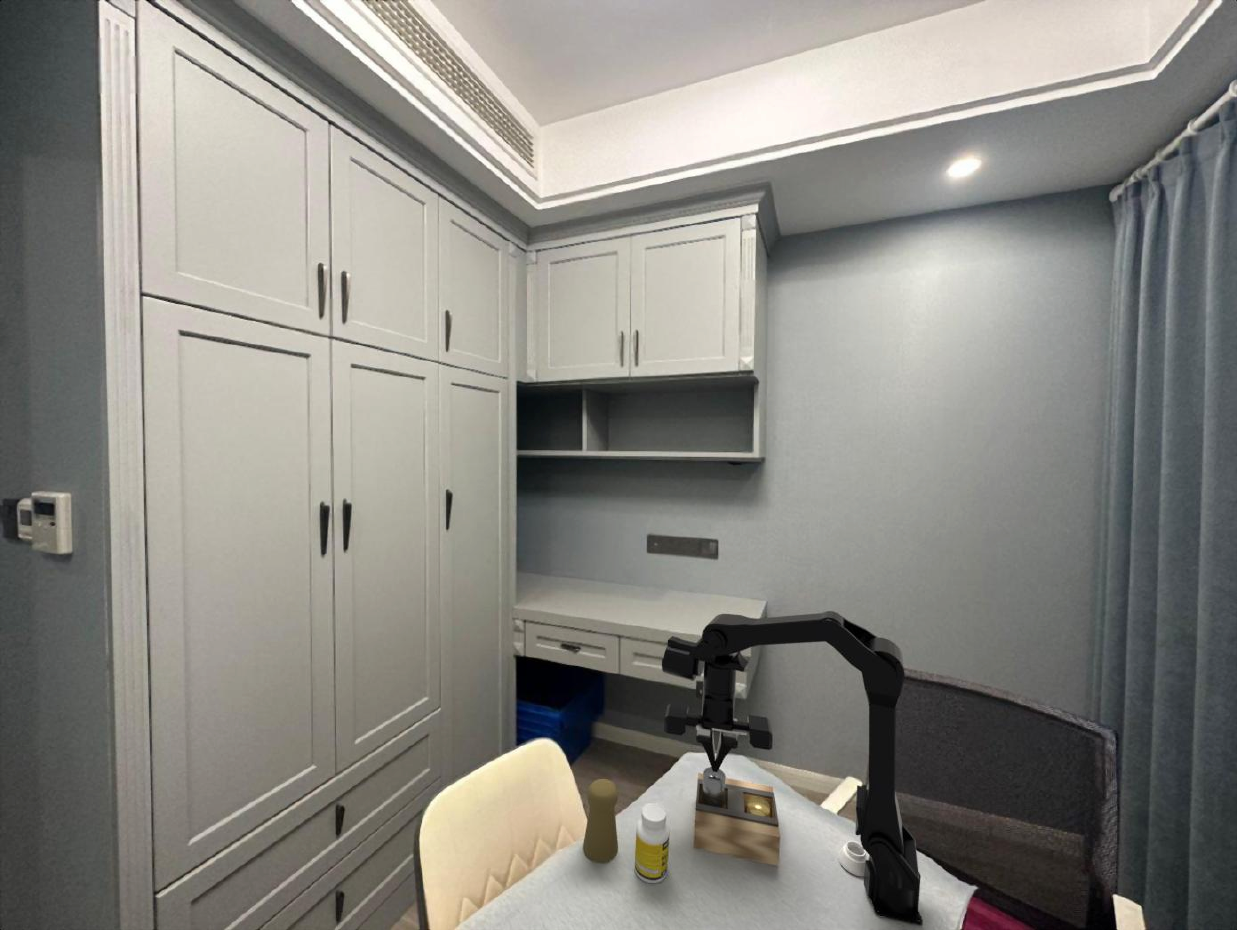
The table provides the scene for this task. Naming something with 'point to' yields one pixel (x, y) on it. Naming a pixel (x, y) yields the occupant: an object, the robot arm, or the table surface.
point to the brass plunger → (758, 807)
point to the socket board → (738, 823)
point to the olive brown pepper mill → (601, 822)
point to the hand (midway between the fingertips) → (715, 770)
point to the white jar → (853, 858)
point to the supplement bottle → (652, 844)
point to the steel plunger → (713, 787)
